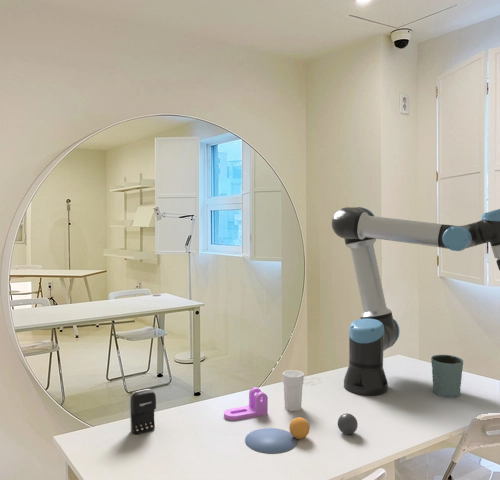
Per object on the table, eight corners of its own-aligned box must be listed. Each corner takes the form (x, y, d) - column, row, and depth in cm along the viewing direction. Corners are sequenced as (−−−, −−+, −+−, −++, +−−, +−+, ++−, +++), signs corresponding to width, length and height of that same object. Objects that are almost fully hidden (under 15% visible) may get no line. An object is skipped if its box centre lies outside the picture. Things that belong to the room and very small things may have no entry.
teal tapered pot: (463, 391, 167) (464, 357, 166) (461, 401, 158) (462, 365, 157) (432, 386, 172) (433, 352, 171) (428, 395, 163) (429, 360, 162)
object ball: (286, 434, 134) (287, 414, 134) (305, 432, 135) (306, 413, 135) (292, 443, 129) (292, 423, 128) (312, 441, 130) (312, 421, 129)
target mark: (241, 431, 136) (241, 430, 136) (288, 426, 139) (288, 426, 139) (250, 455, 122) (250, 454, 122) (303, 450, 125) (303, 449, 125)
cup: (307, 407, 152) (308, 373, 152) (294, 413, 148) (295, 378, 147) (291, 401, 157) (291, 368, 156) (278, 407, 152) (278, 373, 151)
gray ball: (334, 429, 137) (334, 411, 136) (352, 428, 138) (353, 409, 137) (341, 438, 131) (342, 419, 131) (360, 437, 132) (361, 417, 132)
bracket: (259, 407, 152) (259, 386, 152) (267, 414, 147) (267, 392, 147) (221, 414, 147) (221, 392, 147) (228, 422, 142) (228, 399, 142)
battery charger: (134, 437, 132) (133, 396, 131) (129, 431, 135) (128, 391, 135) (158, 430, 136) (157, 391, 135) (152, 425, 139) (152, 386, 138)
